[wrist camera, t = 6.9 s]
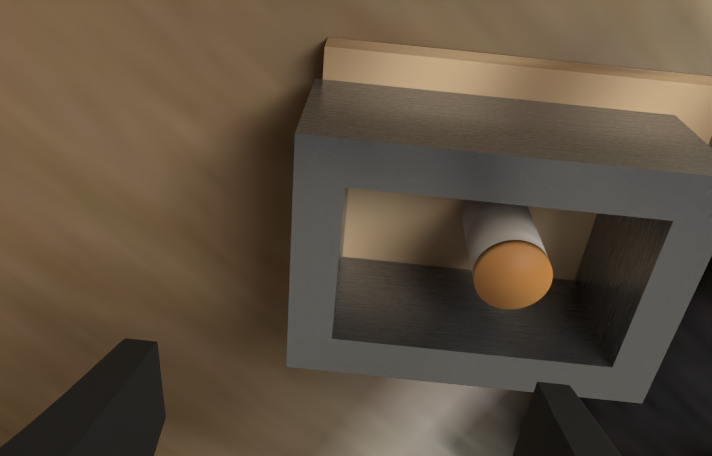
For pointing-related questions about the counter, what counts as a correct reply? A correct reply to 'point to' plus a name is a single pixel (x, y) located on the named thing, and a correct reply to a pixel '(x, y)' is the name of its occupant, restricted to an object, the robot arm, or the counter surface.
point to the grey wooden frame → (508, 186)
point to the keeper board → (504, 80)
